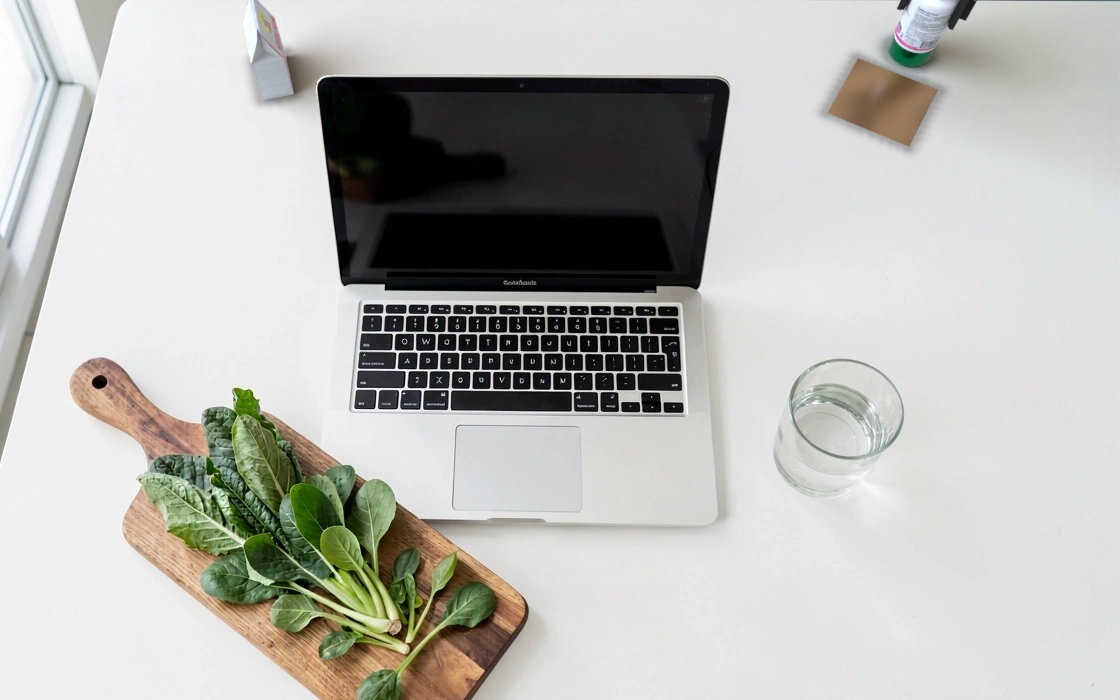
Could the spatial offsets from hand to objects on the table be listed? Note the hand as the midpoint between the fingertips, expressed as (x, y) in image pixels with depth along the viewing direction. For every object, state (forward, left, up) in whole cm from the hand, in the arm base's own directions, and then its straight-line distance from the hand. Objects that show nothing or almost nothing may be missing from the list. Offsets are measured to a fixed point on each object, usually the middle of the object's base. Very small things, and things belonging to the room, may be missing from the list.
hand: (929, 10), depth 95 cm
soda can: (+2, -9, -14) cm, 16 cm away
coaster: (0, 0, -14) cm, 14 cm away
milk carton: (+53, +49, -14) cm, 74 cm away
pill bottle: (0, 0, -4) cm, 4 cm away
